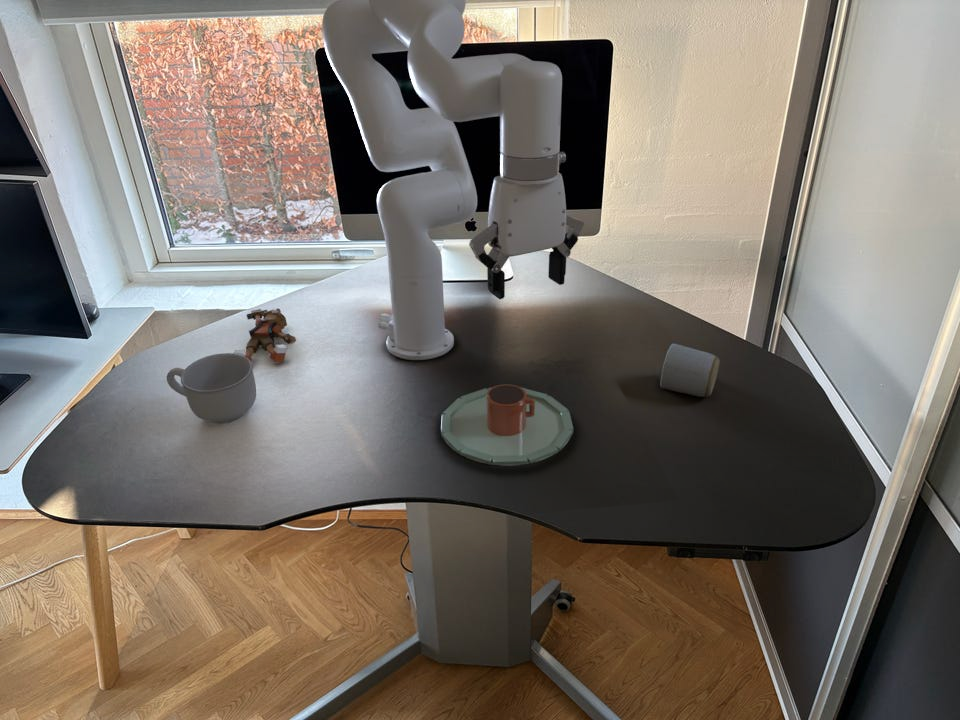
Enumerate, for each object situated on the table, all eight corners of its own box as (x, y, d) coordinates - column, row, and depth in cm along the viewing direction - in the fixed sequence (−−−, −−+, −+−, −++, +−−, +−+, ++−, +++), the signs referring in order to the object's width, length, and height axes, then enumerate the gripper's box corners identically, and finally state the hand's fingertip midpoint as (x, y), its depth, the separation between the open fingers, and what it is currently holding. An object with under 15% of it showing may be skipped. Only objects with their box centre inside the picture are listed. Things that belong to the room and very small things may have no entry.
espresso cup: (489, 437, 107) (488, 406, 104) (484, 415, 112) (484, 385, 110) (537, 433, 108) (538, 403, 105) (530, 411, 113) (531, 381, 110)
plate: (415, 447, 107) (415, 437, 106) (480, 385, 122) (480, 376, 122) (538, 488, 99) (538, 477, 98) (591, 415, 114) (592, 405, 113)
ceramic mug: (708, 407, 115) (715, 365, 112) (657, 396, 118) (662, 354, 115) (719, 377, 124) (726, 337, 120) (671, 367, 127) (677, 328, 123)
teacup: (273, 400, 119) (265, 358, 115) (233, 437, 110) (223, 392, 106) (203, 387, 123) (193, 346, 119) (159, 421, 114) (147, 378, 110)
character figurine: (215, 352, 127) (246, 299, 142) (221, 374, 130) (251, 320, 145) (282, 353, 127) (306, 299, 141) (287, 375, 130) (310, 320, 144)
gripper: (569, 151, 99) (564, 267, 107) (456, 168, 92) (459, 291, 101) (601, 163, 93) (593, 285, 102) (483, 182, 86) (485, 311, 95)
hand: (527, 288), depth 101 cm, fingers open, 9 cm apart
